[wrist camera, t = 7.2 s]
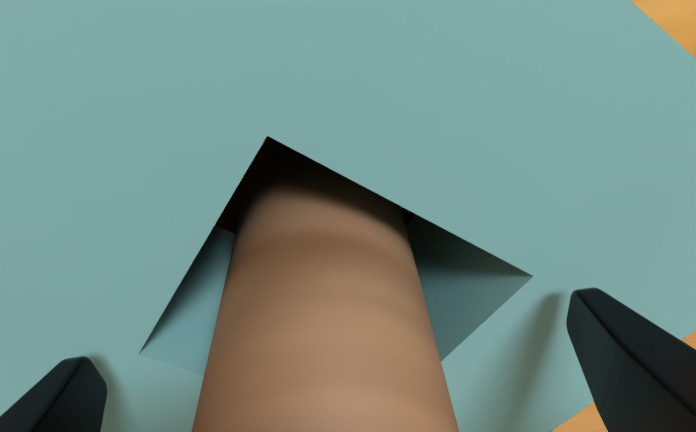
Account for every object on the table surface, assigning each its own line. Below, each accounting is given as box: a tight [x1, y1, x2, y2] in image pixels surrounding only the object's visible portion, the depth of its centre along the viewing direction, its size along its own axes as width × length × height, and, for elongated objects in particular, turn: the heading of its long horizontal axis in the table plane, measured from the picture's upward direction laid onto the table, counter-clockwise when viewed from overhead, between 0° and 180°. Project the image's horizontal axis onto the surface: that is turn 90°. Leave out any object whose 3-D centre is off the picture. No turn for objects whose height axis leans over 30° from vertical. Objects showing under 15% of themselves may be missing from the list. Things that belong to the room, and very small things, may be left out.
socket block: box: [0, 0, 696, 432], centre depth 12 cm, size 14×14×5 cm
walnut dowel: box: [191, 137, 459, 432], centre depth 10 cm, size 4×4×10 cm
